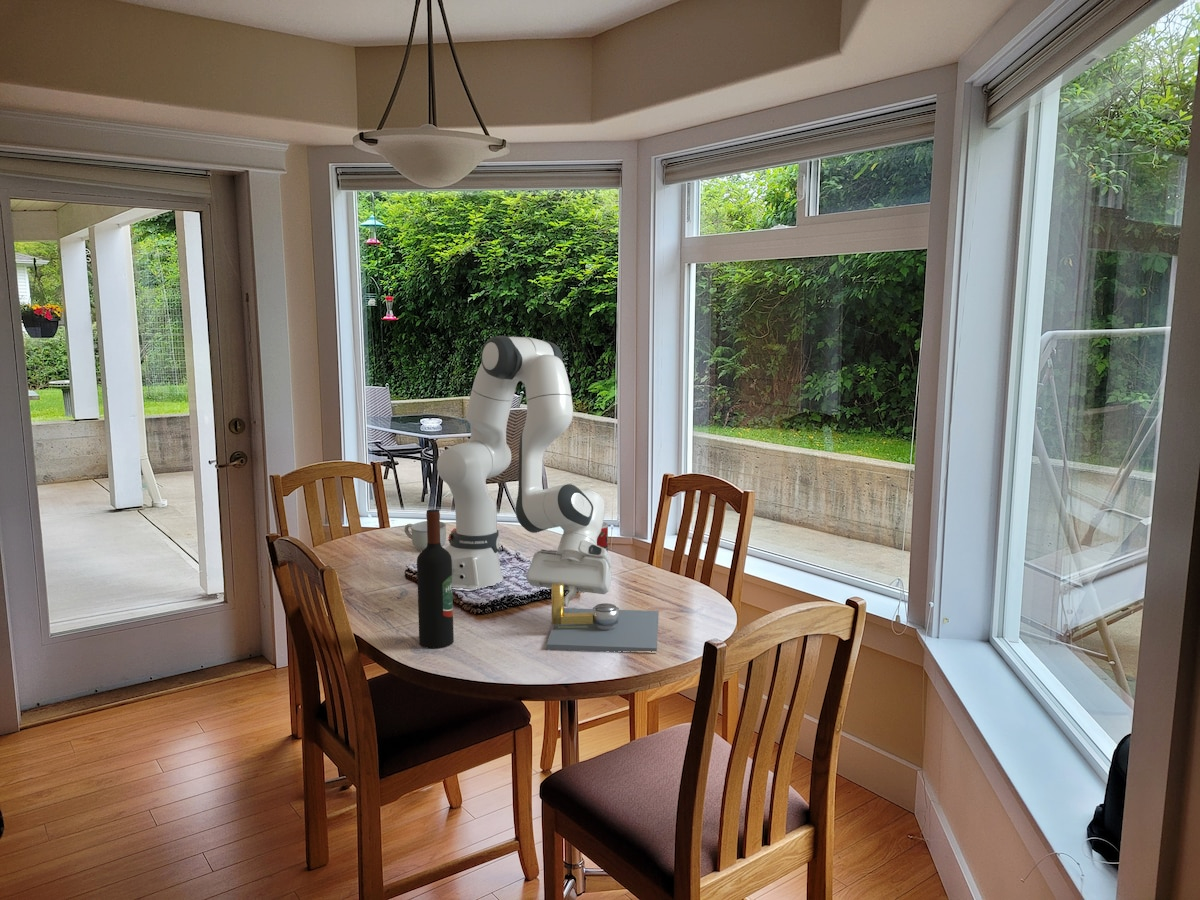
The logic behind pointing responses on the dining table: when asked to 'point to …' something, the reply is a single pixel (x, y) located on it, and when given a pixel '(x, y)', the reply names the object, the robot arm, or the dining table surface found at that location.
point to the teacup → (423, 534)
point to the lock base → (608, 633)
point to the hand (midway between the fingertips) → (560, 605)
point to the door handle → (601, 613)
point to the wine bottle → (435, 589)
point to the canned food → (603, 537)
